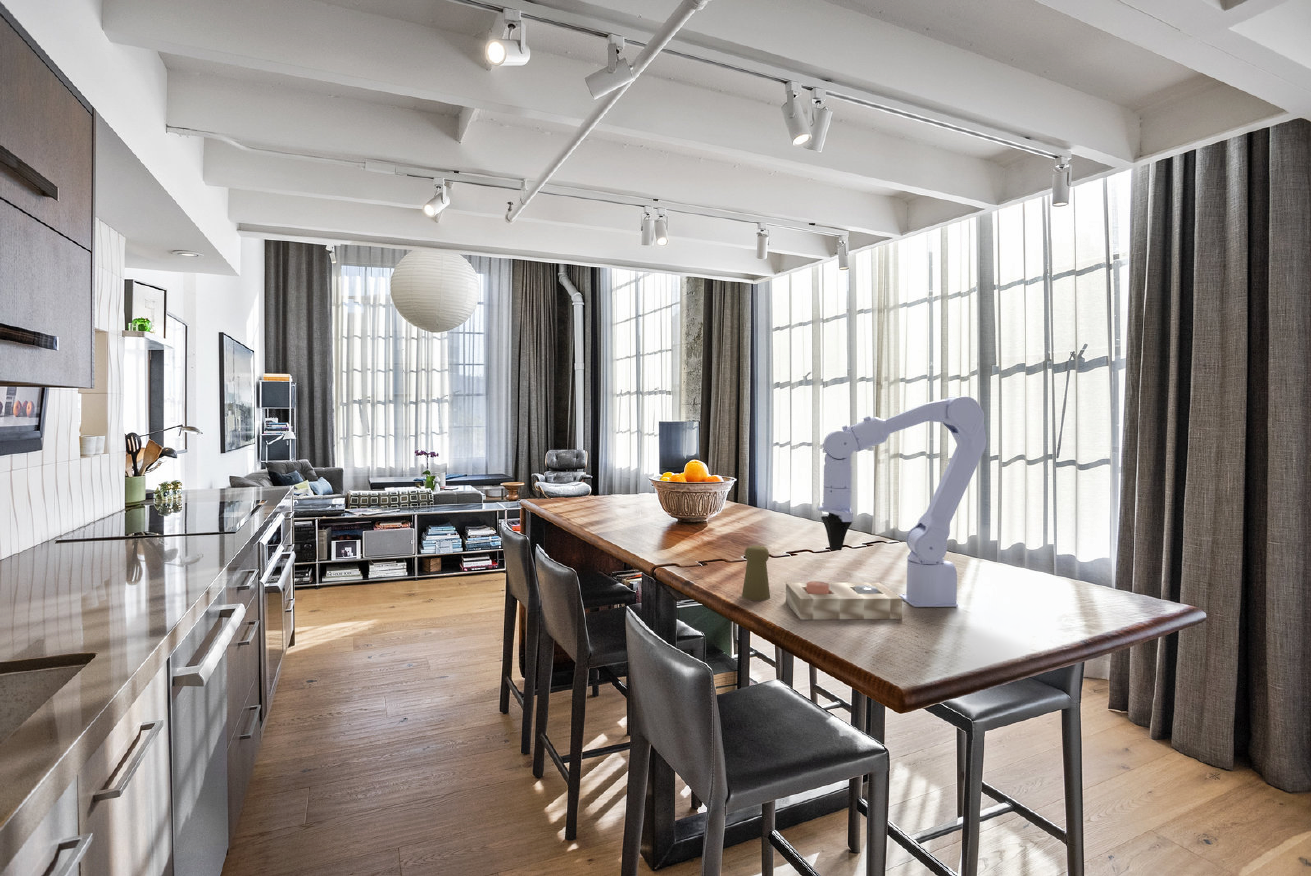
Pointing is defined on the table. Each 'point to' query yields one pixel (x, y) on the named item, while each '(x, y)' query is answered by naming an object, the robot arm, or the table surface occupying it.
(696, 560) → the table surface
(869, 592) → the steel plunger
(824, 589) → the pink rounded cube
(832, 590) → the button board
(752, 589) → the olive pawn
